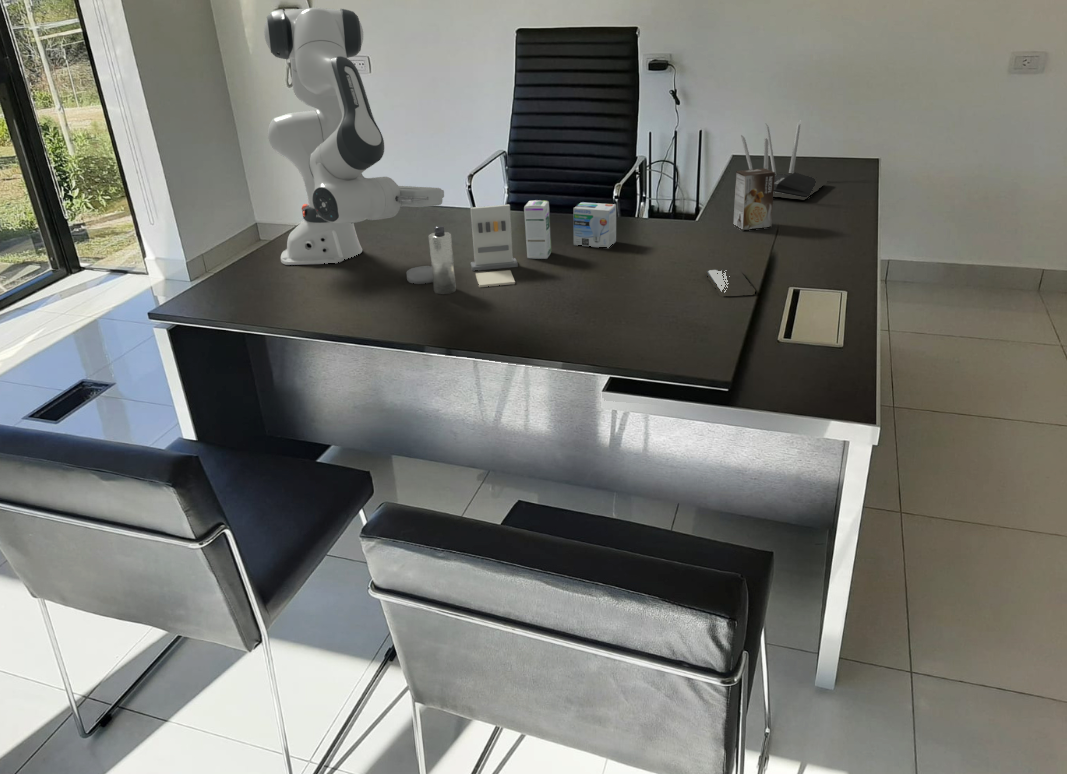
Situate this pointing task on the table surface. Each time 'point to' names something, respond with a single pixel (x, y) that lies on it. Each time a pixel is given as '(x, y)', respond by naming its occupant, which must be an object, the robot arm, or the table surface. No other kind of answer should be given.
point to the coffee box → (754, 198)
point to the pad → (495, 278)
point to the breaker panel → (492, 238)
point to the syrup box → (537, 229)
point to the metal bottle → (442, 261)
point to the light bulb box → (595, 224)
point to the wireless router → (789, 182)
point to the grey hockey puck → (420, 275)
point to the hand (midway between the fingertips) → (426, 192)
